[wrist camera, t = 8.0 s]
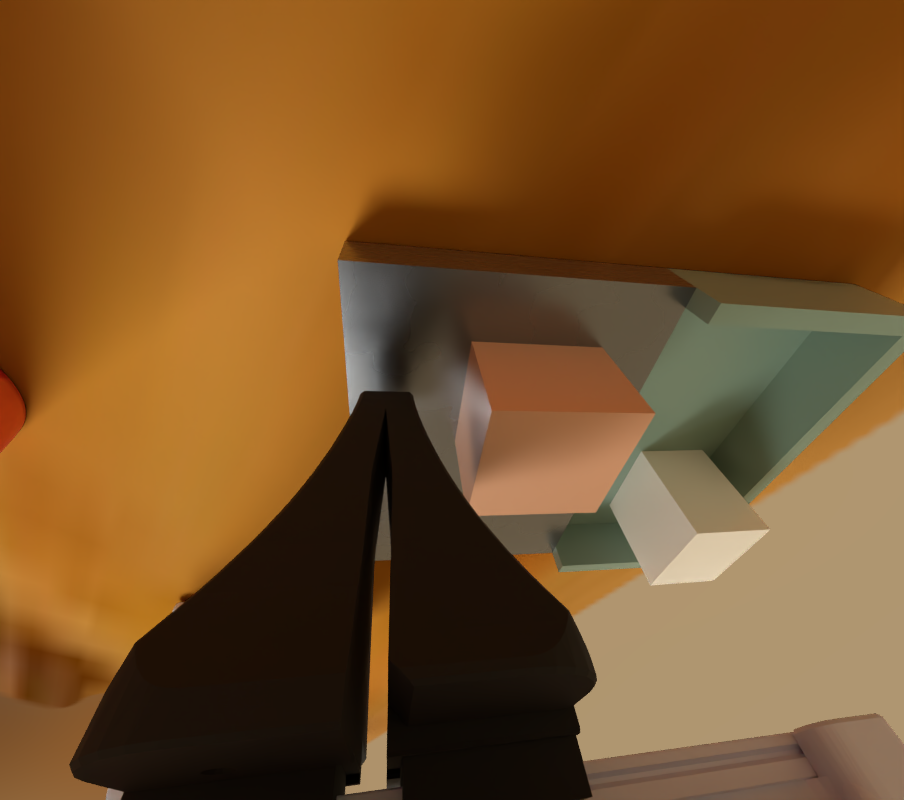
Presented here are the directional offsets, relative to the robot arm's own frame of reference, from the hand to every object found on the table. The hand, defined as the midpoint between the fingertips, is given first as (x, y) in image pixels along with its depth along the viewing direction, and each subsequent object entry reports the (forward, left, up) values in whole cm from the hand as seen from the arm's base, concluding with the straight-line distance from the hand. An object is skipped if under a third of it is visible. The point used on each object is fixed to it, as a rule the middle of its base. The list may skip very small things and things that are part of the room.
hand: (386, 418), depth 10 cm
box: (+12, -3, -3) cm, 12 cm away
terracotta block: (+4, 0, -1) cm, 4 cm away
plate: (+4, -3, -3) cm, 5 cm away
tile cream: (+11, -6, 0) cm, 12 cm away
